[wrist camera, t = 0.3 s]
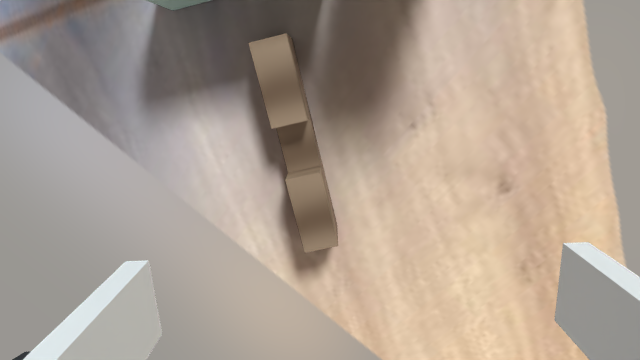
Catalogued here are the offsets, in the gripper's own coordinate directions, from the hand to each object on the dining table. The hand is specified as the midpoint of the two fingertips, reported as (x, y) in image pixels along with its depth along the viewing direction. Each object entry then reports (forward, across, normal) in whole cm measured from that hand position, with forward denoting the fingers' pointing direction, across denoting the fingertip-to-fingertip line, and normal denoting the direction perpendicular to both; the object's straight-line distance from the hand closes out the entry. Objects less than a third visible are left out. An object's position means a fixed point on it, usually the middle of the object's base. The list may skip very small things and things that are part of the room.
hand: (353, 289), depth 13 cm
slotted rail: (+26, -4, 0) cm, 26 cm away
